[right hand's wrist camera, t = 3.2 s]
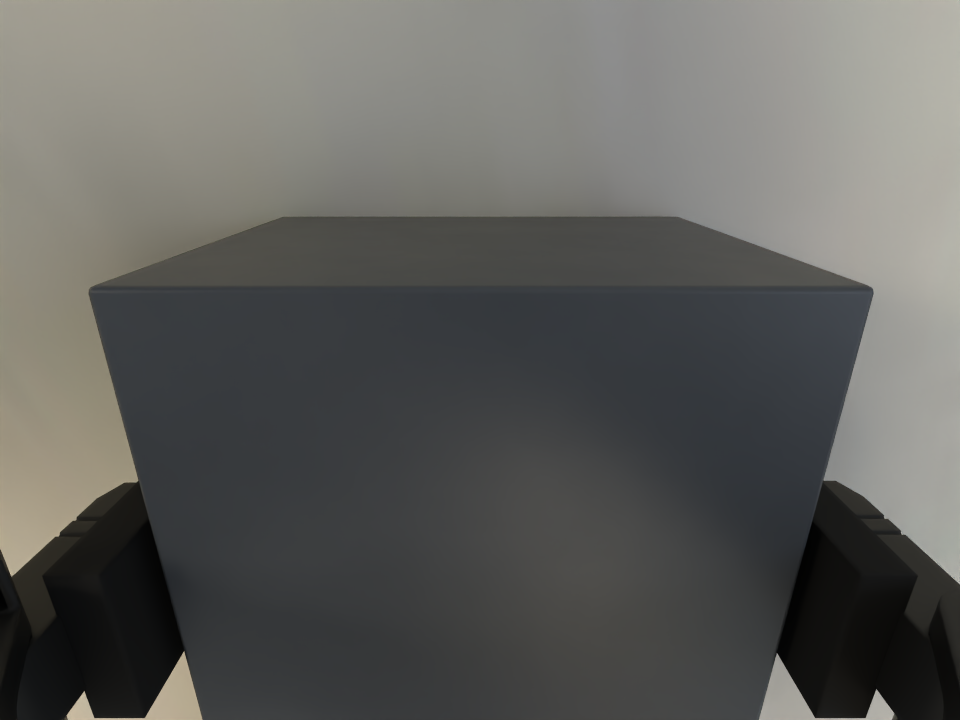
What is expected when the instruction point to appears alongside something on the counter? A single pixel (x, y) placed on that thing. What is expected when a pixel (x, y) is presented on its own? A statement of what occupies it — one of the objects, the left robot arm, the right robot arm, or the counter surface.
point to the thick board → (480, 461)
